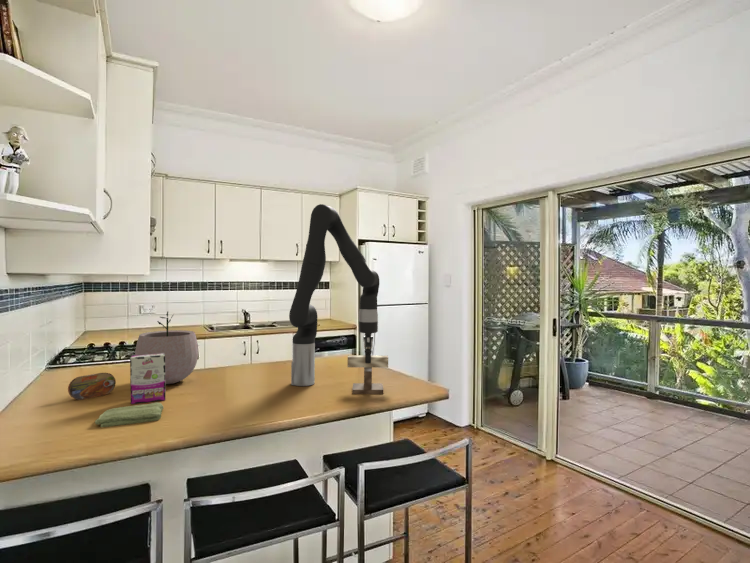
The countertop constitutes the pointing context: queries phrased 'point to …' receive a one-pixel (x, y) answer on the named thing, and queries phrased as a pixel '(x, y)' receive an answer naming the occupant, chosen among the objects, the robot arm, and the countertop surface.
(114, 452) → the countertop surface
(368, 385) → the balance stand
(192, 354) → the plant pot
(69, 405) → the countertop surface
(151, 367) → the candy bar box
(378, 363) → the pale gold metallic bar
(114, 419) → the washcloth
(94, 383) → the tin
